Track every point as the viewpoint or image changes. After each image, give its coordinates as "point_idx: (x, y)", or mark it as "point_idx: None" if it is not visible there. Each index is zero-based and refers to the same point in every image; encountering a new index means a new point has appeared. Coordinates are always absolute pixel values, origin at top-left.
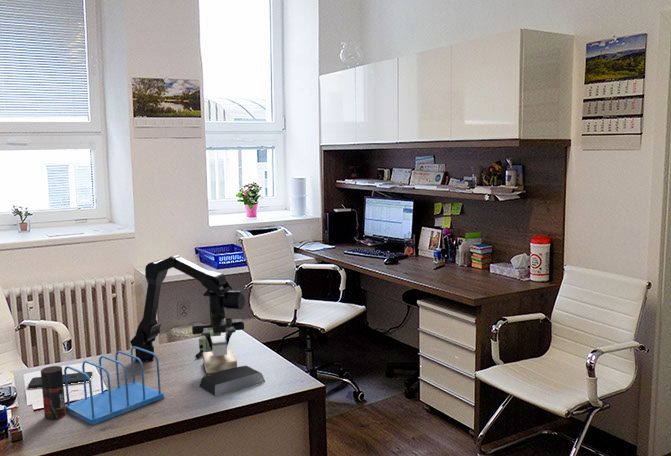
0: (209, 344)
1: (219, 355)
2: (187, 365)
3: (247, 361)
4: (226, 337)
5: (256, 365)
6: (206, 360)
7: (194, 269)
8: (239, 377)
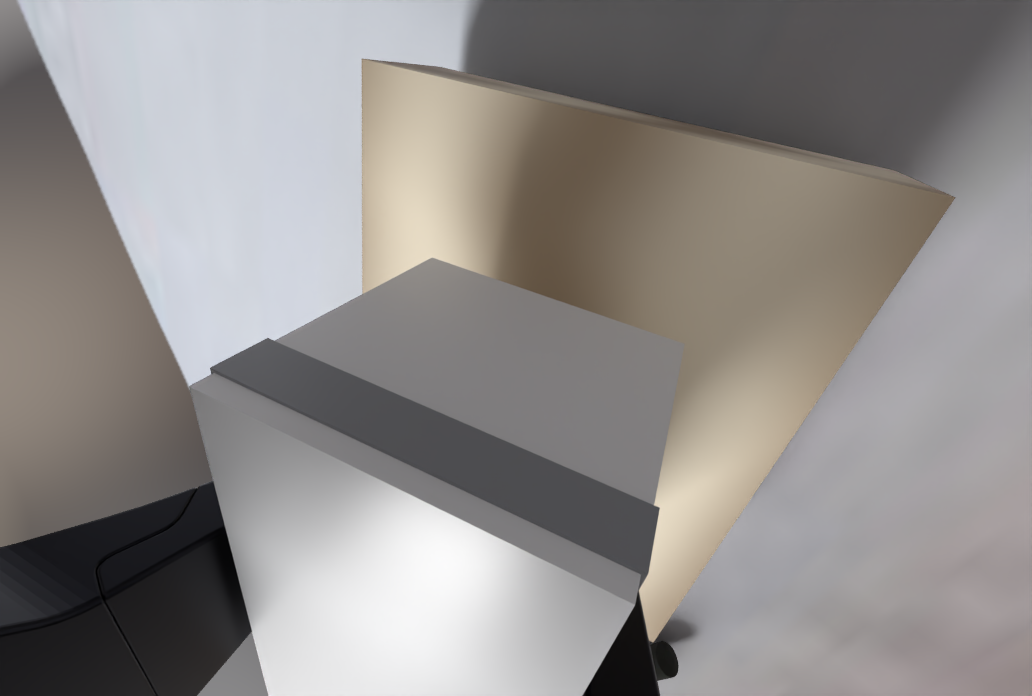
0: (649, 663)
1: (562, 304)
2: (846, 600)
3: (322, 307)
4: (182, 578)
5: (259, 154)
6: (780, 405)
7: None
8: None
